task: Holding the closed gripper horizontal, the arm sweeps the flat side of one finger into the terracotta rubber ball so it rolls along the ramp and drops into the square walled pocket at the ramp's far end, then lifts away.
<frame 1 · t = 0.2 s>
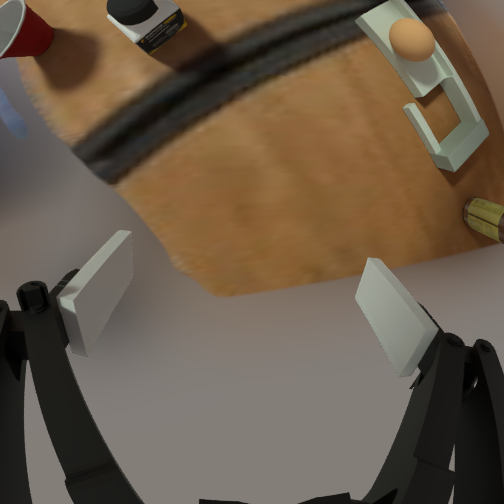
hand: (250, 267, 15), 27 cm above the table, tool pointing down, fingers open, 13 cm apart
medicine bottle: (155, 27, 30), on the table
plastic cup: (41, 42, 28), on the table
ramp: (436, 112, 37), on the table
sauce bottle: (471, 209, 44), on the table
ball: (412, 39, 27), point 6 cm above the table, touching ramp
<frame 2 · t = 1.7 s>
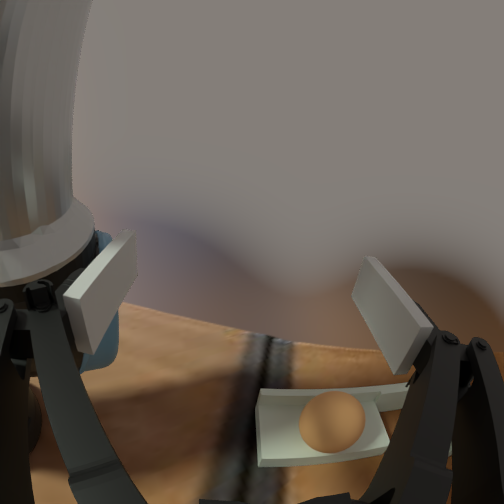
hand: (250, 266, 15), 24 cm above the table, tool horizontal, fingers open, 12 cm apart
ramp: (403, 433, 29), on the table
ball: (332, 422, 25), point 6 cm above the table, touching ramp
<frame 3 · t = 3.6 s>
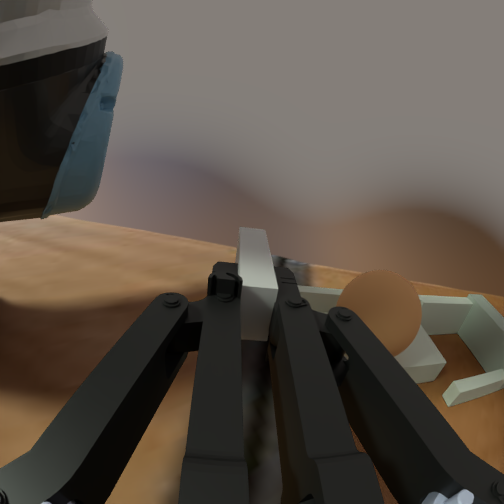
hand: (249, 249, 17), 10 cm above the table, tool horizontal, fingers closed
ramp: (451, 359, 24), on the table
ball: (378, 315, 20), point 6 cm above the table, touching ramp
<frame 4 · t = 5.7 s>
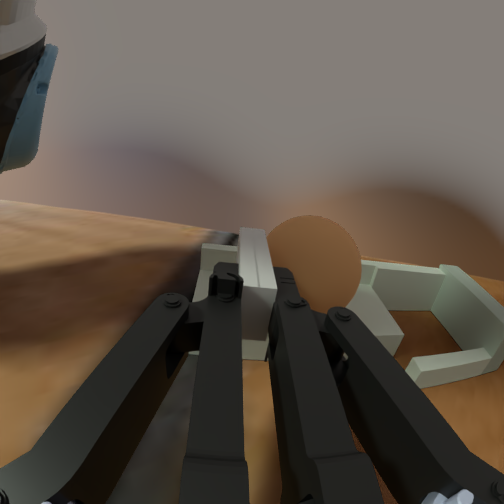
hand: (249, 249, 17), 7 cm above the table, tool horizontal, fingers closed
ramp: (419, 337, 22), on the table
ball: (309, 268, 19), point 6 cm above the table, tilted 9°, touching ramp, gripper
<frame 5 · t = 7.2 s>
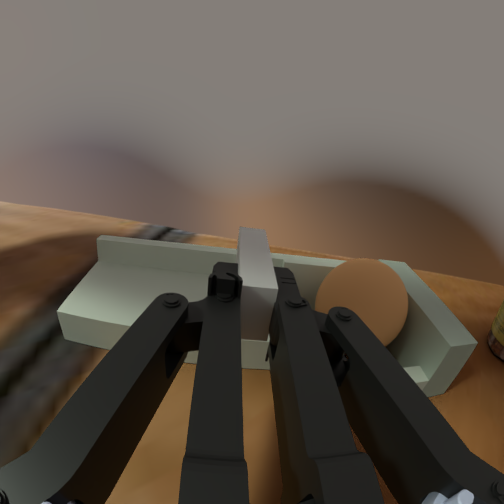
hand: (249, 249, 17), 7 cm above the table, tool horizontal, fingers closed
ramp: (337, 346, 21), on the table
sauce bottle: (502, 351, 20), on the table
ball: (361, 306, 20), point 3 cm above the table, tilted 115°
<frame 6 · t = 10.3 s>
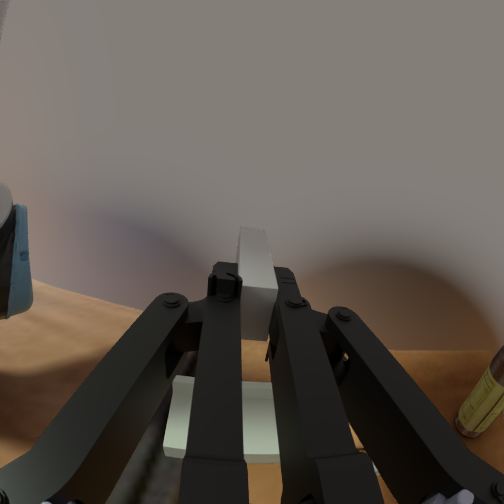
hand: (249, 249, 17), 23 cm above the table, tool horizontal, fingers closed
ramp: (344, 439, 27), on the table
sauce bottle: (466, 425, 27), on the table
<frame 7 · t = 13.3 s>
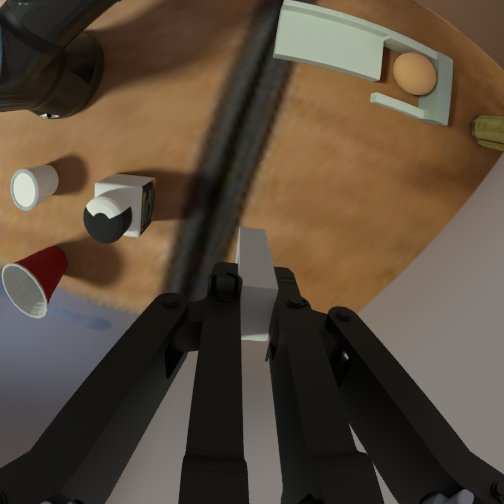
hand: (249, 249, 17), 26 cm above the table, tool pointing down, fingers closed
medicine bottle: (134, 196, 42), on the table
plastic cup: (55, 260, 46), on the table
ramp: (398, 77, 35), on the table
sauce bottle: (478, 129, 38), on the table
white tapered cup: (47, 180, 40), on the table
ball: (414, 73, 32), point 3 cm above the table, tilted 116°
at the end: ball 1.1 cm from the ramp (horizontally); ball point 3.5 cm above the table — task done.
